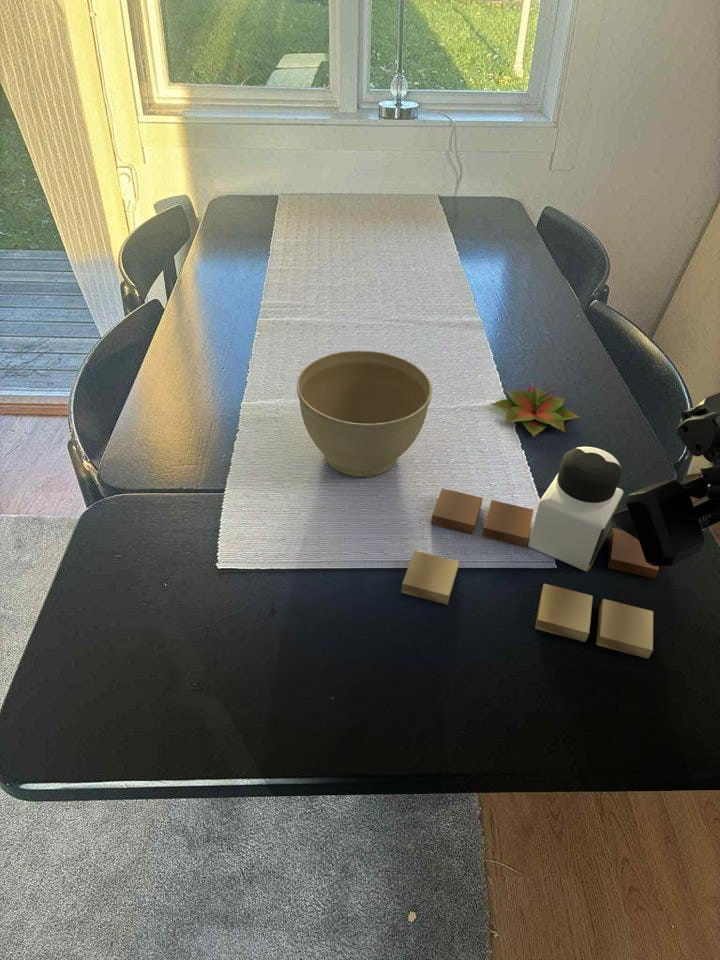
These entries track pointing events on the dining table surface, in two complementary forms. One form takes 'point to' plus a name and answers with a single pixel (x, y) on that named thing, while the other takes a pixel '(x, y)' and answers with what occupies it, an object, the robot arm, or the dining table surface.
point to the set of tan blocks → (546, 608)
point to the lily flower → (535, 409)
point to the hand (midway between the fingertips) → (650, 504)
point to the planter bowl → (363, 409)
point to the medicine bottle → (578, 507)
